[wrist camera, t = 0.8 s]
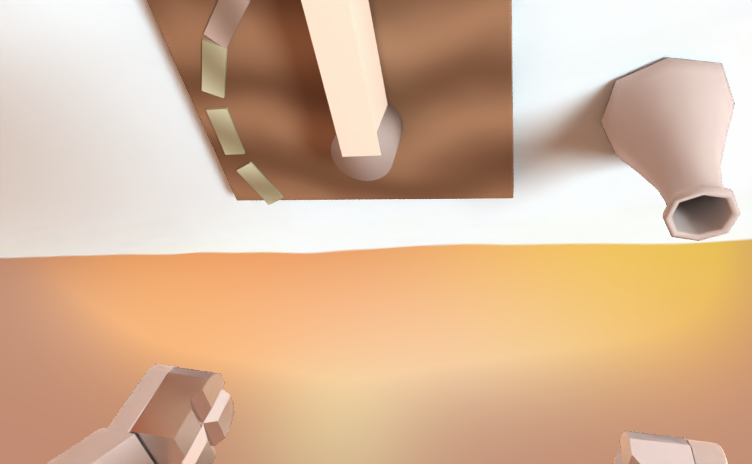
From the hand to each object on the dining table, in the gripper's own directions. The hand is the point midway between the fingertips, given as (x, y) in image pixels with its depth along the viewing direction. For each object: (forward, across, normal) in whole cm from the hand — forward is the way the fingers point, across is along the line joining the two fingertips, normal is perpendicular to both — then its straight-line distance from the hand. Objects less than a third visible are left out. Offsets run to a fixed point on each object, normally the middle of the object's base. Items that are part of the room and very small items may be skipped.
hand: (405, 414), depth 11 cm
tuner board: (+27, +9, +3) cm, 28 cm away
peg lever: (+25, +8, +1) cm, 26 cm away
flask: (+27, -11, +6) cm, 30 cm away
